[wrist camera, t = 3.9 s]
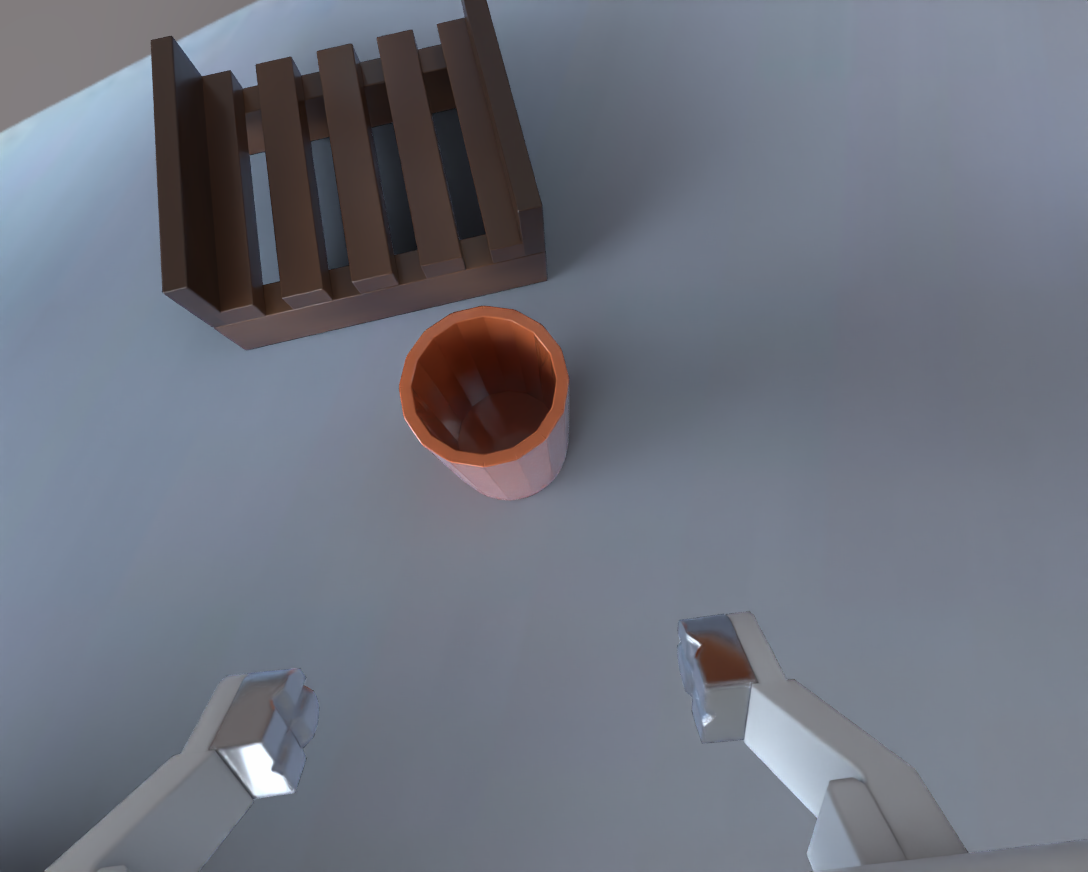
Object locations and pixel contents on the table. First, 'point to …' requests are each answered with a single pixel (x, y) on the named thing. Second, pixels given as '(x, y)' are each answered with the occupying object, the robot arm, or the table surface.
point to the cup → (490, 400)
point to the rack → (340, 183)
